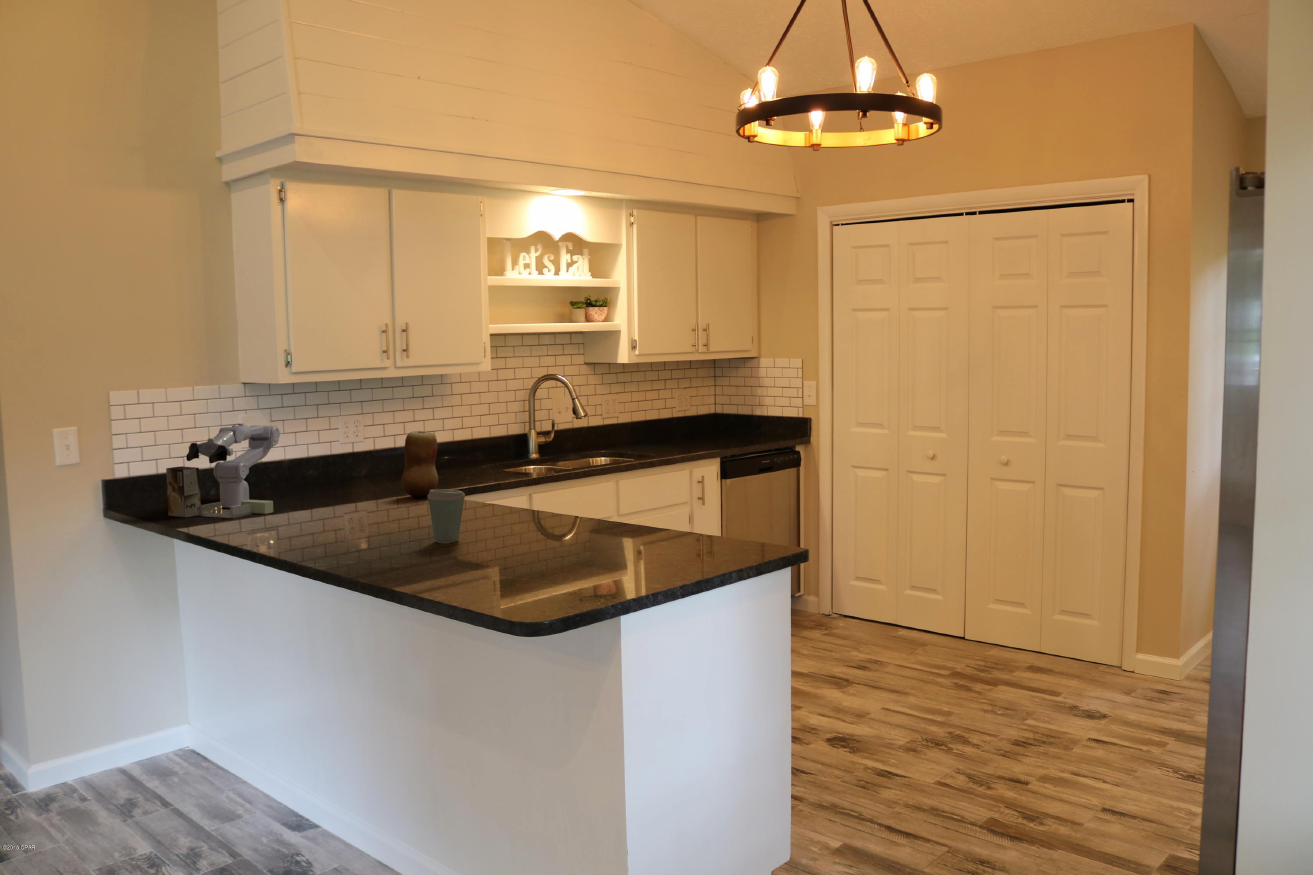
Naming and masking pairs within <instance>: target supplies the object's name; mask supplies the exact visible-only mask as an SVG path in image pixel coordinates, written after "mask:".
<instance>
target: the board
mask: <svg viewBox="0 0 1313 875" xmlns="http://www.w3.org/2000/svg"><path fill="white" fill-rule="evenodd" d="M246 504H252V510H253V514H263V515H264V514H265V515H266V514H271V513H273V512H274V501H273V500H259V499H249V500H245V501H241V505H246Z"/></svg>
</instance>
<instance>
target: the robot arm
mask: <svg viewBox="0 0 1313 875" xmlns="http://www.w3.org/2000/svg"><path fill="white" fill-rule="evenodd" d="M280 434H281V431H280V429H279V428H278V426H276V425H273V426H272V425H260V424H259V425H258V424H257V425H255V424H253V425H250V426H248V425H245V424H244V423H237V424H233V425H231V426H230V427H229V426H224V427H223V426H222V427H220V428H219V430H218V433H217V434H216V435H215V436H213V437H212V438H210V437H209V438H208V439H207V441H205V442H201V443H197V442H191V443H190V445H189V446H188V453H186V455H185V456H186V461H187V462H191V461H193V460H195V459H200V455H202V456H204V457H206V458H208V463H209V464H214V463H215V464H214V466H213V476H214V477H215V478H214V479H216V480H217V482H219V499H220V500H219V502H221V507H222V508H229V509H230V508H231V507H236V506H241V501H245V500H250V490H249V484H248V482H247V481H245V480H244V479H245V478H246V477H247V475H249V472H250V468H251V467H252V466H254V465H256V464H257V463H258V462H260V461H261V460H262V459H264V458H266V456H267V455H268V454H269V452H270V451H271V449H272V448H273V447H274V446H275V447H276V445H278V444H279V440H280V436H281V435H280ZM243 441H248V443H247V444H248V448H249V449H247V450H246V451H244V452H242V453H241V454H240V455H238V456H237V457H235V458H233V459H231V460H228V456H229V457H231V456H233V455H234V449H233V448H230V447H231V446H233V445H234V444H241V443H243Z"/></svg>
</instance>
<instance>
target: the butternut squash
mask: <svg viewBox="0 0 1313 875" xmlns="http://www.w3.org/2000/svg"><path fill="white" fill-rule="evenodd" d="M403 450H404V451H403V452H404V453H403V454H404V470H403V472H402V475H401V479H400V483H401V487H402V488H403V490H404V492H405V493H407V494H408V495H409V496H410V497H411V498H412V497H413V498H412V499H417V498H418V499H419V498H426V497H428V494H429V491H430V490H436V489H437V487H438V484H439V475H438V472H437V469H436V459H437V454H438V453H437V452H438V440H437V436H436V434H435V433H433V432H430V431H423V430H412V431H410V432H409V433H407V434H406V437H405V439H404V449H403Z"/></svg>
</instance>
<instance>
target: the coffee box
mask: <svg viewBox="0 0 1313 875" xmlns="http://www.w3.org/2000/svg"><path fill="white" fill-rule="evenodd" d="M165 473H166V492H167V496H166V497H167V510H168V512H167V514H168V516H169V517H171V516H172V517H179V518H180V517H181V518H190V517H195V516H196V517H197V516H199V506H200V505H202V504H201V503H202V502H201V487H200V486H201V485H200V483H201V482H200V481H201V480H200V468H199V467H194V466H174V467H166V470H165Z"/></svg>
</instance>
